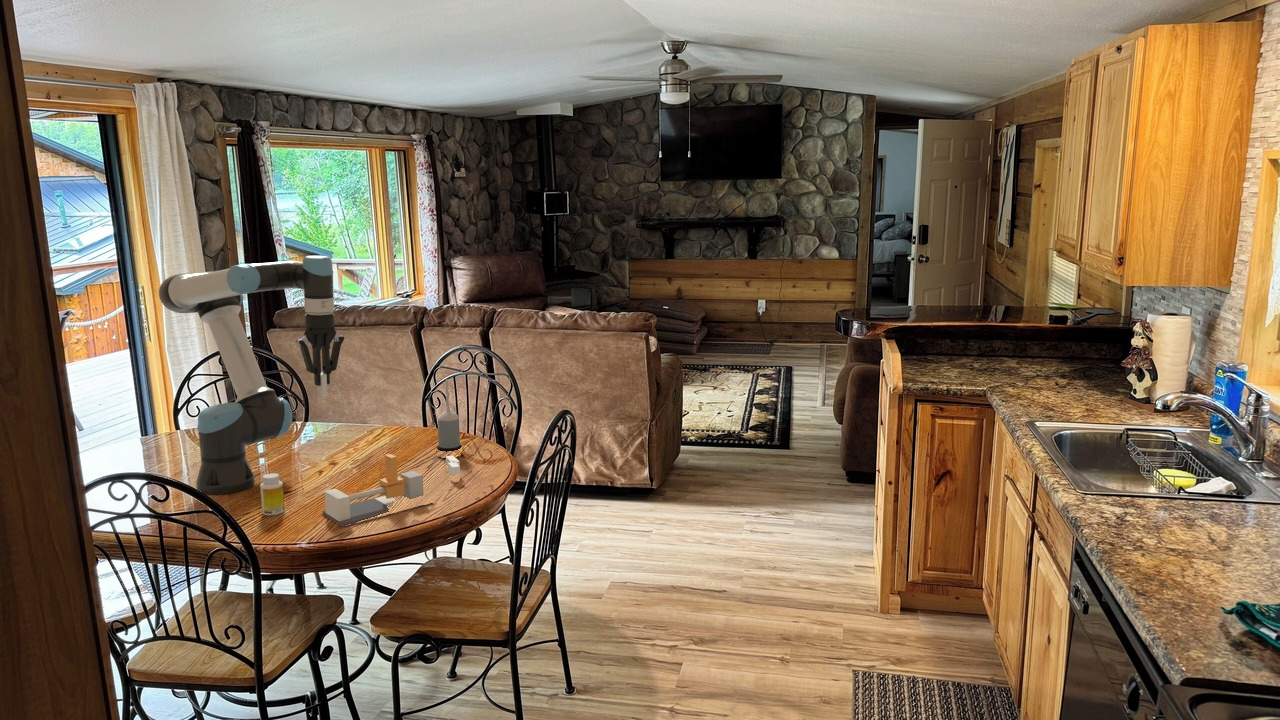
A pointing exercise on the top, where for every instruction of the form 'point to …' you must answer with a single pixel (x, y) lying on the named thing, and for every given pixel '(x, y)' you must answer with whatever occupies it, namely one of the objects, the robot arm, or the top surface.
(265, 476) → the supplement bottle
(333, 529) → the top surface
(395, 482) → the orange rod slider
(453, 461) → the white blocky piece
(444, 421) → the grey bottle
